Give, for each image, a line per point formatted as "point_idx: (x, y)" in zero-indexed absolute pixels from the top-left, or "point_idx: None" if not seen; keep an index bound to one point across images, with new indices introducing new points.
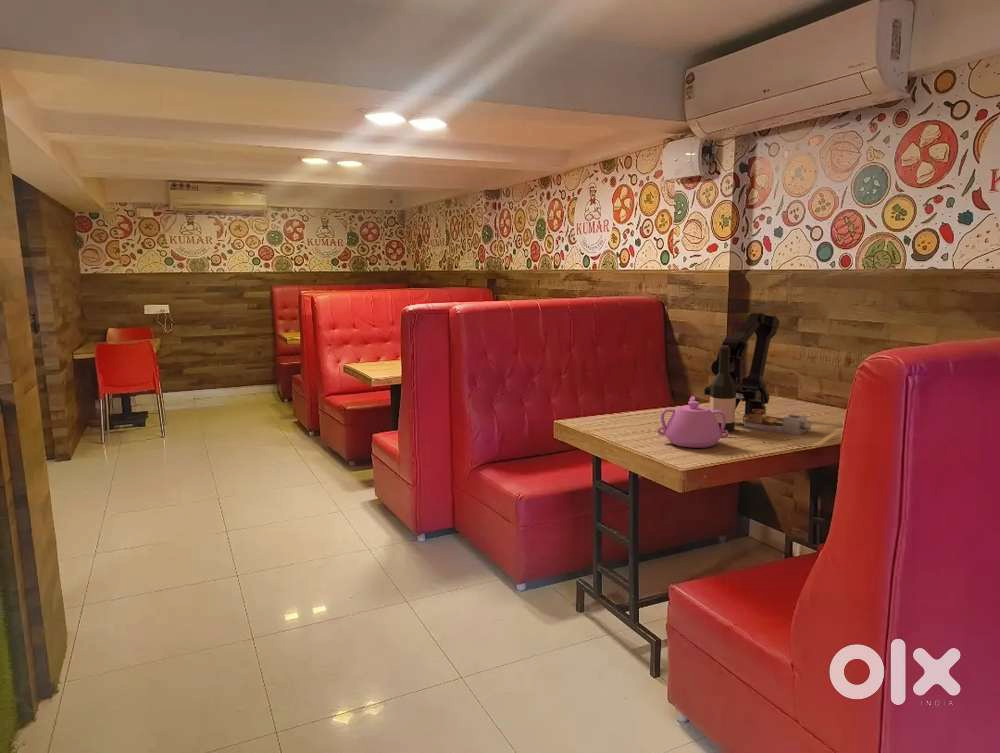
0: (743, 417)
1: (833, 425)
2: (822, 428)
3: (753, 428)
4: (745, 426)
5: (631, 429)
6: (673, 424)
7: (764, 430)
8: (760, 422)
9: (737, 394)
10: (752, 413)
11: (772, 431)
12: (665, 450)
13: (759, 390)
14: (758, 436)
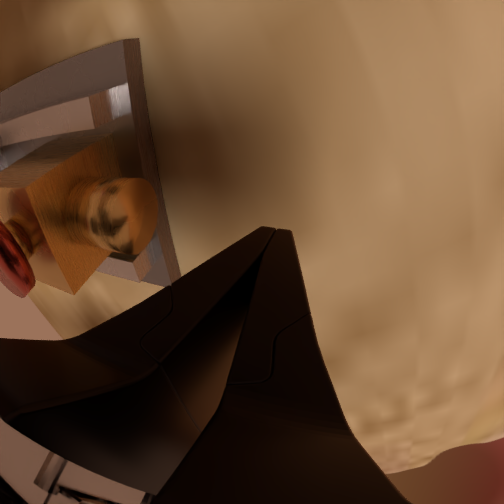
0: (115, 190)
1: (60, 335)
2: (40, 299)
3: (64, 96)
4: (104, 90)
5: None
6: None
7: (20, 99)
8: (24, 158)
9: (6, 480)
10: (23, 214)
11: (1, 110)
12: None
13: (149, 499)
14: (25, 5)
